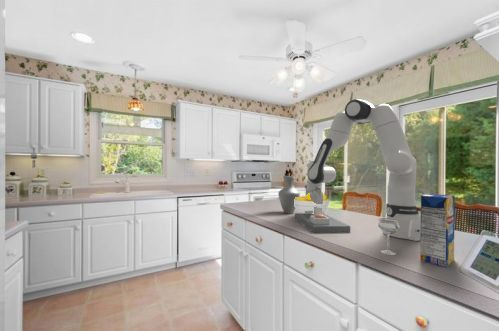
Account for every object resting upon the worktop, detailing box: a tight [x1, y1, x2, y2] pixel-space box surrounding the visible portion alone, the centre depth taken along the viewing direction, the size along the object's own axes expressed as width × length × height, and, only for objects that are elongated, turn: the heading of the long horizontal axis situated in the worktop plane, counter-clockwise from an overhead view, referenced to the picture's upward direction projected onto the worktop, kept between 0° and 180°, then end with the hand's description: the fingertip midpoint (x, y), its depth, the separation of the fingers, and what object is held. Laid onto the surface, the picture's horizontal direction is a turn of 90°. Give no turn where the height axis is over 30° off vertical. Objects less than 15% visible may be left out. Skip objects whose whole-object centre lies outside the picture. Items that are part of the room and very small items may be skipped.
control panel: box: [294, 212, 351, 234], centre depth 130 cm, size 18×32×6 cm, turn 6°
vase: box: [277, 175, 301, 214], centre depth 163 cm, size 14×14×25 cm
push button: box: [315, 214, 325, 218], centre depth 120 cm, size 5×5×2 cm
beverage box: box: [419, 193, 456, 268], centre depth 81 cm, size 7×11×22 cm, turn 129°
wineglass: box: [378, 217, 399, 256], centre depth 88 cm, size 7×7×12 cm
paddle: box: [313, 206, 323, 214], centre depth 141 cm, size 4×2×4 cm, turn 96°
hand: (313, 209), depth 147 cm, fingers closed
